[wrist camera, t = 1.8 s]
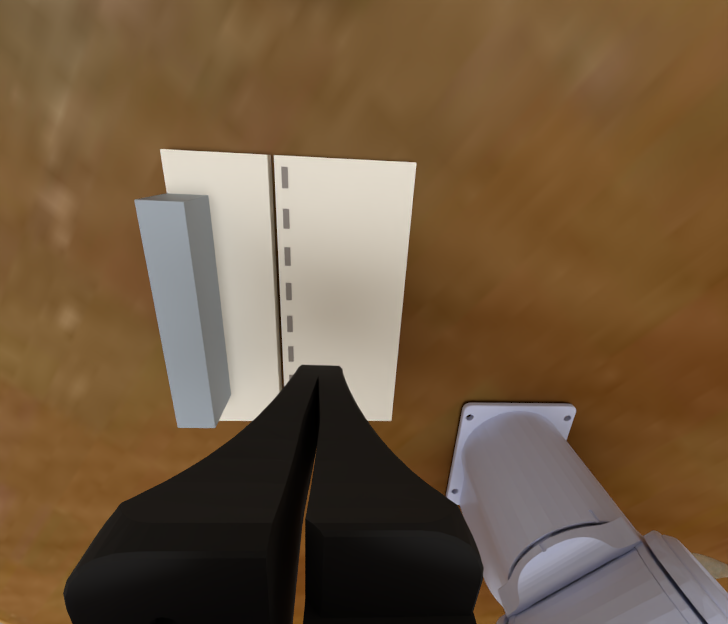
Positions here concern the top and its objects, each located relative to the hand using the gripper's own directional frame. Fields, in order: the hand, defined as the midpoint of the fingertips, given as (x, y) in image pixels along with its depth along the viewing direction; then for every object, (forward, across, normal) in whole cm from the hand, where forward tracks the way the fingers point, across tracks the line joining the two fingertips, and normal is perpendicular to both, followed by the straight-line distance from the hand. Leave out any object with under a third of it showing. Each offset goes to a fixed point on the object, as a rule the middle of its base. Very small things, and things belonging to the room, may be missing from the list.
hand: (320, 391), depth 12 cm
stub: (+10, +6, +1) cm, 12 cm away
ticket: (+10, -1, +1) cm, 10 cm away
